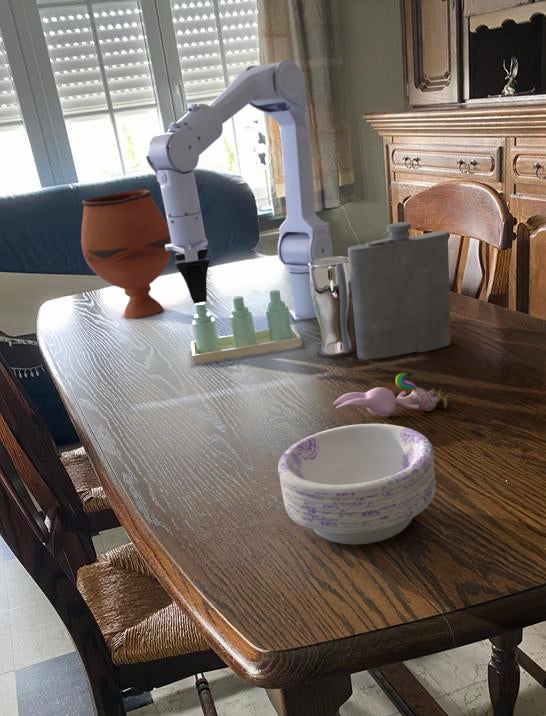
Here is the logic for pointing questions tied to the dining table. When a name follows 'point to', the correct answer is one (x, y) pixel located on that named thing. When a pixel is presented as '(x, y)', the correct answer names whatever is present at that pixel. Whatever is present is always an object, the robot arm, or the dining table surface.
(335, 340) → the beer glass
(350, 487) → the paper bowls
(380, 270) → the hip flask
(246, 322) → the bottle
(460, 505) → the dining table surface
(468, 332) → the dining table surface
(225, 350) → the tray
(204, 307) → the loose bottle
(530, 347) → the dining table surface
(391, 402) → the rabbit figure
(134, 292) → the goblet
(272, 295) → the bottle
